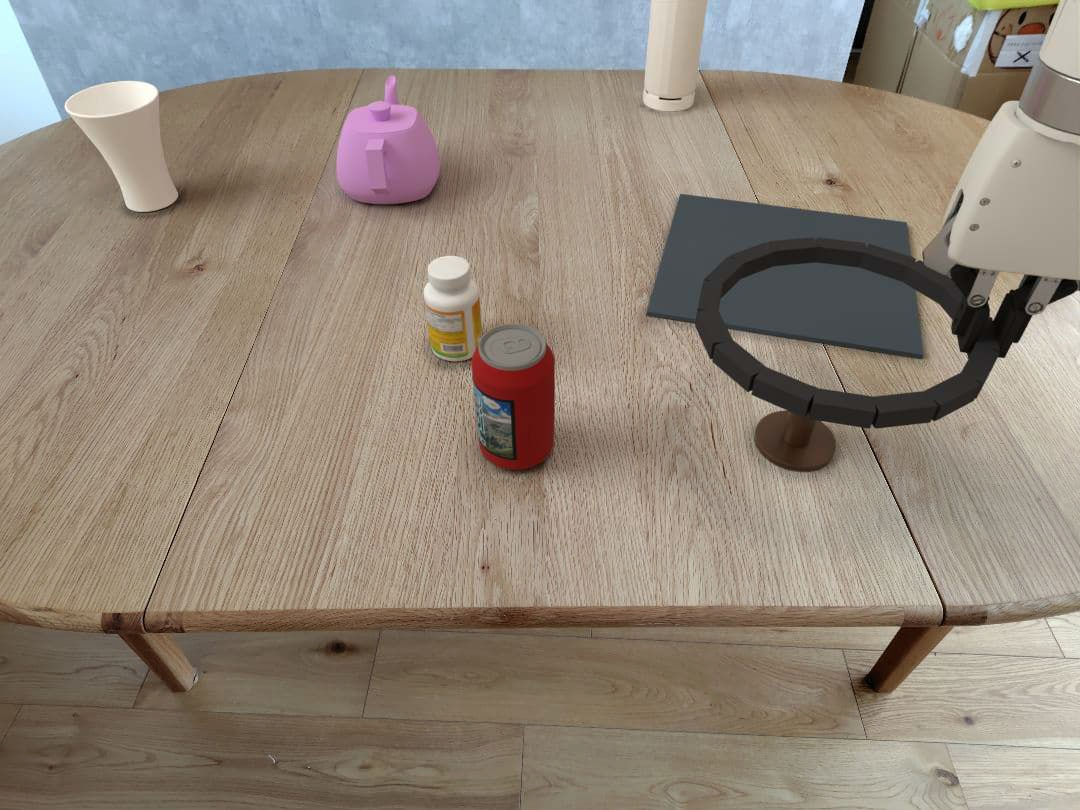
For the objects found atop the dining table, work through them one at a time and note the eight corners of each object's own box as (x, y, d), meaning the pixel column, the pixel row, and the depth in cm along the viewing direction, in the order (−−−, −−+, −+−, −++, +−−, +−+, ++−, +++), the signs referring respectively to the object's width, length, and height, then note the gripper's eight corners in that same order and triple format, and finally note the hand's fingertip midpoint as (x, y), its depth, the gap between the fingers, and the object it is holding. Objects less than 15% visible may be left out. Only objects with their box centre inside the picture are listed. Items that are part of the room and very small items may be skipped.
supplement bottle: (463, 323, 82) (455, 244, 75) (493, 347, 79) (488, 268, 72) (420, 343, 79) (408, 264, 73) (450, 370, 76) (440, 290, 70)
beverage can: (469, 431, 70) (459, 329, 62) (538, 412, 72) (537, 310, 64) (492, 484, 66) (484, 381, 57) (565, 463, 68) (567, 360, 59)
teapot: (447, 149, 111) (439, 70, 103) (436, 221, 97) (426, 137, 89) (354, 150, 111) (340, 72, 103) (329, 223, 96) (310, 138, 89)
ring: (969, 271, 65) (976, 254, 64) (1012, 452, 50) (1022, 435, 49) (712, 240, 69) (714, 225, 68) (679, 398, 54) (682, 381, 53)
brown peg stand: (834, 422, 71) (852, 374, 67) (834, 478, 66) (853, 430, 62) (757, 409, 72) (770, 360, 68) (751, 463, 67) (765, 414, 63)
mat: (905, 226, 95) (906, 221, 95) (922, 359, 77) (924, 354, 77) (679, 197, 100) (680, 193, 100) (646, 315, 83) (646, 311, 82)
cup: (146, 175, 106) (107, 76, 96) (210, 187, 103) (176, 86, 94) (91, 212, 99) (43, 109, 89) (158, 226, 96) (116, 122, 87)
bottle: (669, 116, 118) (694, -97, 99) (631, 99, 123) (648, -107, 103) (704, 101, 122) (734, -107, 102) (666, 86, 126) (688, -116, 107)
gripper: (1227, 83, 46) (1083, 329, 58) (944, 64, 49) (866, 300, 62) (1279, 137, 40) (1108, 394, 53) (958, 111, 44) (870, 359, 56)
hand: (979, 342), depth 57 cm, fingers closed on ring, 1 cm apart
